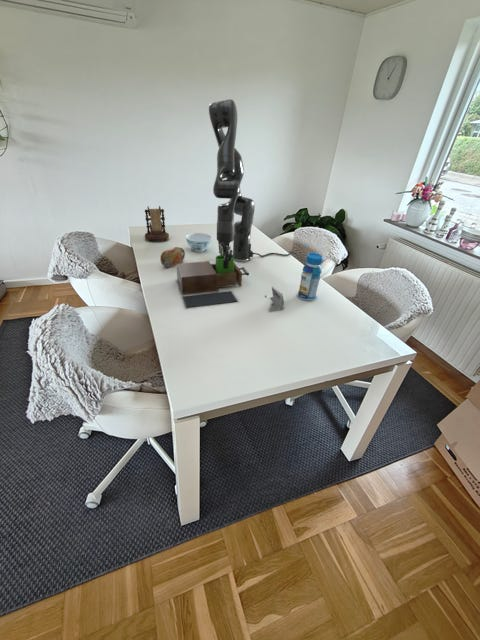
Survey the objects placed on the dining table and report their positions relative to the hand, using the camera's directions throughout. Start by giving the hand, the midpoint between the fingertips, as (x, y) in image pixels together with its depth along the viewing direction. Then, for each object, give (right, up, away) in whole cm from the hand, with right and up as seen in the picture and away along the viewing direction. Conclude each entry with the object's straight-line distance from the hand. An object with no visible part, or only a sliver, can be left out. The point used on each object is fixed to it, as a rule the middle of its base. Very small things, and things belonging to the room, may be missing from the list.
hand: (224, 265), depth 141 cm
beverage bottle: (+38, -15, -2) cm, 41 cm away
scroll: (-45, +26, +50) cm, 72 cm away
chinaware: (-17, +16, +39) cm, 46 cm away
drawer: (+1, -6, +5) cm, 8 cm away
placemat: (-6, -16, -9) cm, 19 cm away
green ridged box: (0, -4, +3) cm, 5 cm away
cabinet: (-13, -9, +1) cm, 16 cm away
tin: (-28, +4, +20) cm, 35 cm away
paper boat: (+22, -19, -9) cm, 30 cm away
